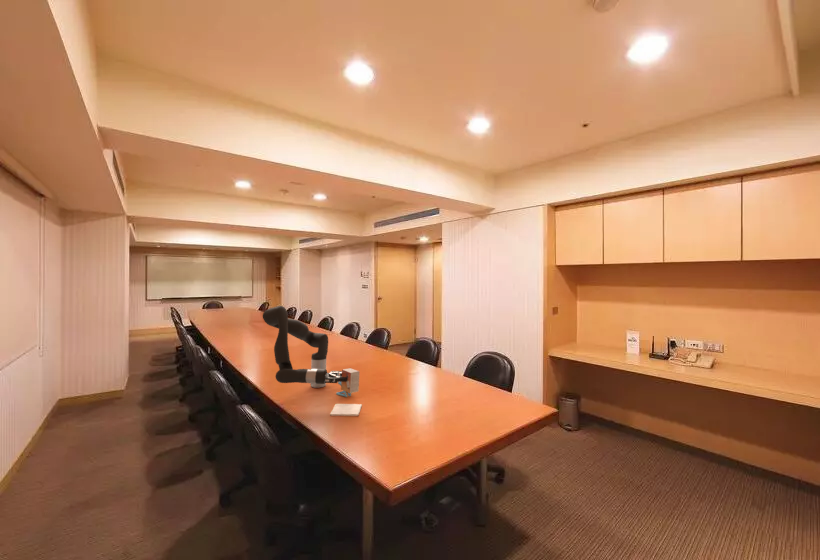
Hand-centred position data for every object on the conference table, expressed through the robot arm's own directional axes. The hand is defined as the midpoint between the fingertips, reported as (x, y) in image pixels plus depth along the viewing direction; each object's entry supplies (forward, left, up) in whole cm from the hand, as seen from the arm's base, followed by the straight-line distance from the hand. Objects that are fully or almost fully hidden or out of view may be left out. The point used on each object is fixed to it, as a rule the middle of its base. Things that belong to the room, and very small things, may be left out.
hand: (348, 377), depth 175 cm
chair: (-24, -6, -17) cm, 30 cm away
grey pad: (0, -1, -17) cm, 17 cm away
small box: (+1, +1, -7) cm, 7 cm away
